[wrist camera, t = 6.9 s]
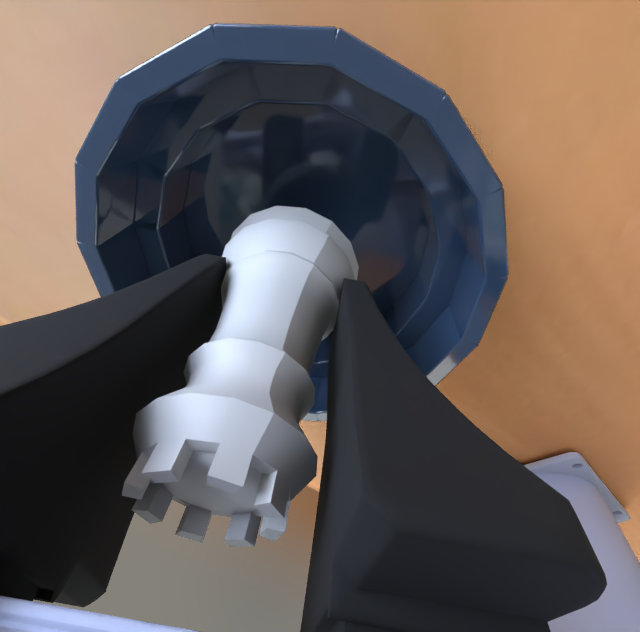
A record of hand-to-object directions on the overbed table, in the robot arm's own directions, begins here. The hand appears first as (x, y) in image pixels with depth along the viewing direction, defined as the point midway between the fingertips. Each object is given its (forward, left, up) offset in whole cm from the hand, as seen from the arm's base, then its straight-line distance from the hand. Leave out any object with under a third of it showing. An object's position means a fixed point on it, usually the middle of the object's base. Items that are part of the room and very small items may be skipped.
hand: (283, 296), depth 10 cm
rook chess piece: (0, 0, -2) cm, 2 cm away
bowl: (0, 0, -5) cm, 5 cm away
